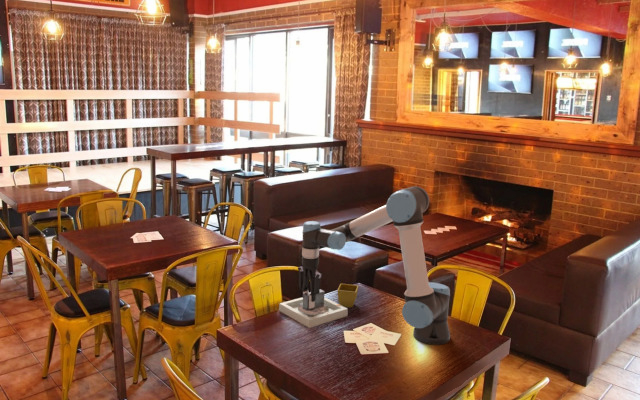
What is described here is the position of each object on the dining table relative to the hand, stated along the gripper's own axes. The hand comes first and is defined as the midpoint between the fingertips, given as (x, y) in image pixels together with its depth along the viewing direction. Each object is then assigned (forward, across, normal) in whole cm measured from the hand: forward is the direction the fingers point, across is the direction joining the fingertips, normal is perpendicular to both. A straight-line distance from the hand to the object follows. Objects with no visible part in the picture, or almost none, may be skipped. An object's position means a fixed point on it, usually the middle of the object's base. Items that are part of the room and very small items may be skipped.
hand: (308, 306), depth 254 cm
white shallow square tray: (+4, 0, -3) cm, 5 cm away
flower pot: (+4, -4, -22) cm, 22 cm away
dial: (+3, 0, -3) cm, 4 cm away
